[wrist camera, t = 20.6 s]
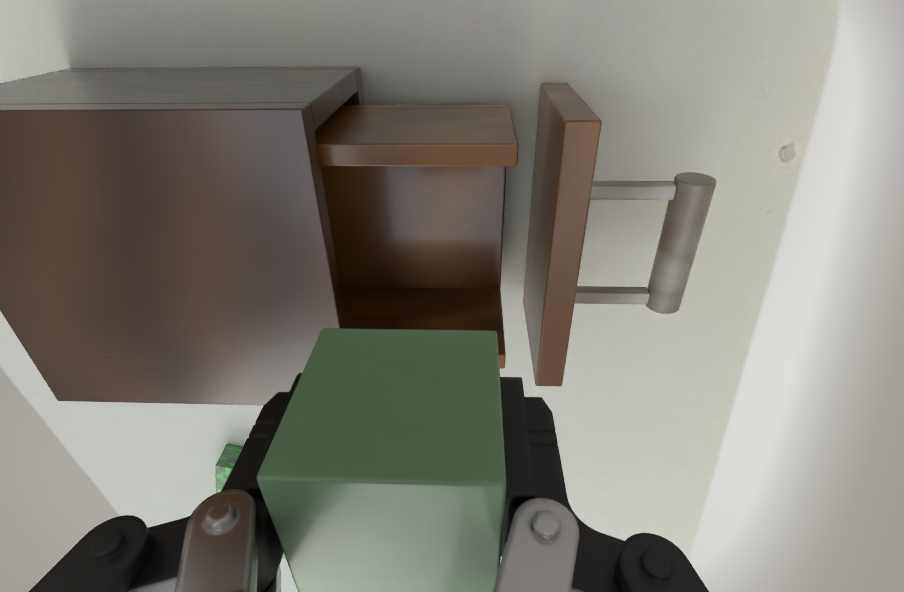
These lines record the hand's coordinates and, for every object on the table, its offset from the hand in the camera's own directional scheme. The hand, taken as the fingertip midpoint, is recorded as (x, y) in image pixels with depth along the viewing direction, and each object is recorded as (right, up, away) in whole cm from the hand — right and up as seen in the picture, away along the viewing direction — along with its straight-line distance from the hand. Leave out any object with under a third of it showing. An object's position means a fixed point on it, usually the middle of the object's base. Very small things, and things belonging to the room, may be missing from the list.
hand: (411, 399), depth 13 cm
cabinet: (-10, +8, +13) cm, 18 cm away
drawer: (+3, +7, +11) cm, 14 cm away
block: (0, 0, 0) cm, 0 cm away
